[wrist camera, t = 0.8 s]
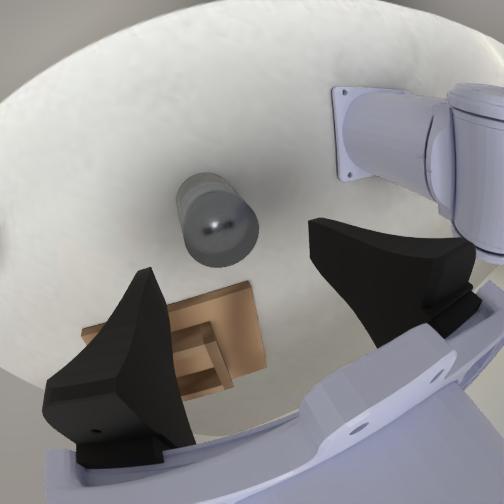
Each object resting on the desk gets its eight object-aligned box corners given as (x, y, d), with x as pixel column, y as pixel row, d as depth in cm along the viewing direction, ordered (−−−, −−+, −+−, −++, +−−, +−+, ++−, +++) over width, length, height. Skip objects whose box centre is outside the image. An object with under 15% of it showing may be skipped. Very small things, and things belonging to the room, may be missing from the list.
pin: (226, 166, 19) (253, 189, 14) (235, 217, 21) (263, 255, 16) (170, 181, 18) (175, 210, 13) (184, 232, 20) (195, 276, 15)
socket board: (247, 280, 24) (261, 305, 21) (264, 360, 30) (275, 383, 27) (82, 329, 21) (77, 357, 18) (136, 396, 27) (138, 421, 24)
